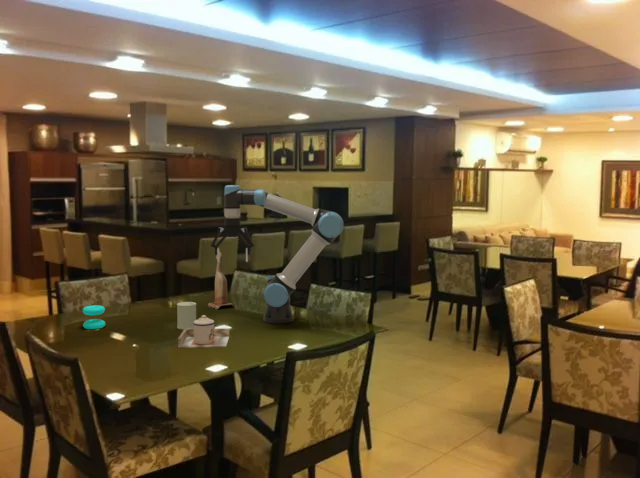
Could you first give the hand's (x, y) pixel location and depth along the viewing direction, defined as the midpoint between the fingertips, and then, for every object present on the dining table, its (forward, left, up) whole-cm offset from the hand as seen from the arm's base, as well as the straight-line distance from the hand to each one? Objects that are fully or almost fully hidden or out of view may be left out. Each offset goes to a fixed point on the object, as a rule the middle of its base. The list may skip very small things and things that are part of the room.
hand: (232, 261), depth 291 cm
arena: (+10, +29, -32) cm, 44 cm away
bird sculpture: (+10, -46, -32) cm, 57 cm away
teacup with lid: (+10, +30, -31) cm, 44 cm away
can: (+22, +1, -32) cm, 39 cm away
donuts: (+66, 0, -32) cm, 73 cm away
